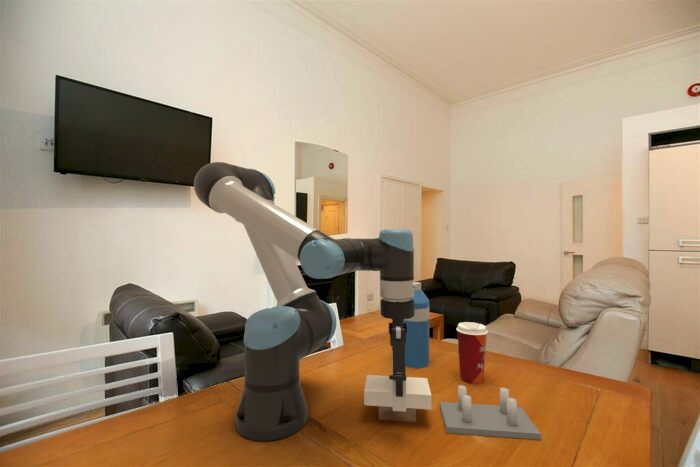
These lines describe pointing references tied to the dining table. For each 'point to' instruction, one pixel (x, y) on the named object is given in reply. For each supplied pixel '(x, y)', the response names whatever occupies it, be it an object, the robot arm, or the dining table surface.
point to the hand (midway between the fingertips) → (398, 394)
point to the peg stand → (488, 417)
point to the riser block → (397, 414)
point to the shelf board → (381, 392)
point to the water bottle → (418, 332)
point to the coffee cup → (471, 351)
